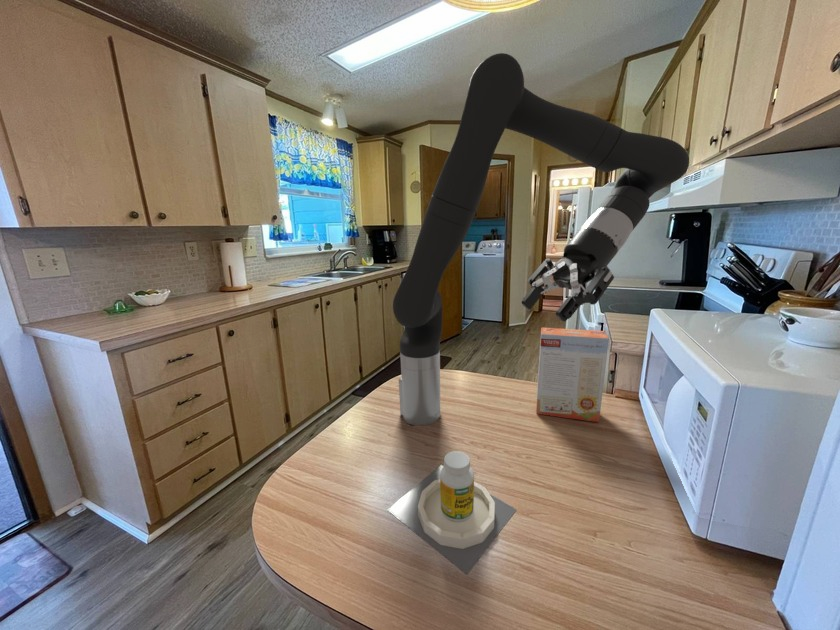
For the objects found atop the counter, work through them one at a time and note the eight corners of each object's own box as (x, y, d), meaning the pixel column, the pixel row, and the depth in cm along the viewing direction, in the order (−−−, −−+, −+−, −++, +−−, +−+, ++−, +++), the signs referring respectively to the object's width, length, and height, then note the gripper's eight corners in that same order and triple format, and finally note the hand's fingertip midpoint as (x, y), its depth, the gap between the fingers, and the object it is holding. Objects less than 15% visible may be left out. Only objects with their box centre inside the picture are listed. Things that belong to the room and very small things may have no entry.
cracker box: (595, 410, 84) (605, 330, 78) (599, 423, 78) (610, 338, 73) (535, 402, 88) (541, 325, 83) (535, 414, 83) (541, 333, 77)
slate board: (387, 512, 56) (386, 509, 56) (440, 467, 66) (440, 465, 66) (466, 577, 46) (466, 574, 45) (516, 512, 55) (516, 509, 55)
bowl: (404, 516, 55) (403, 507, 54) (449, 475, 63) (449, 467, 63) (465, 564, 47) (465, 554, 46) (508, 510, 55) (508, 501, 55)
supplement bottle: (459, 491, 59) (459, 443, 56) (480, 512, 54) (482, 461, 52) (433, 505, 56) (433, 456, 53) (454, 529, 51) (454, 476, 49)
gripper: (557, 225, 64) (504, 291, 63) (626, 226, 52) (561, 308, 50) (575, 252, 68) (525, 315, 67) (645, 258, 55) (584, 336, 54)
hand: (541, 312), depth 59 cm, fingers open, 8 cm apart
